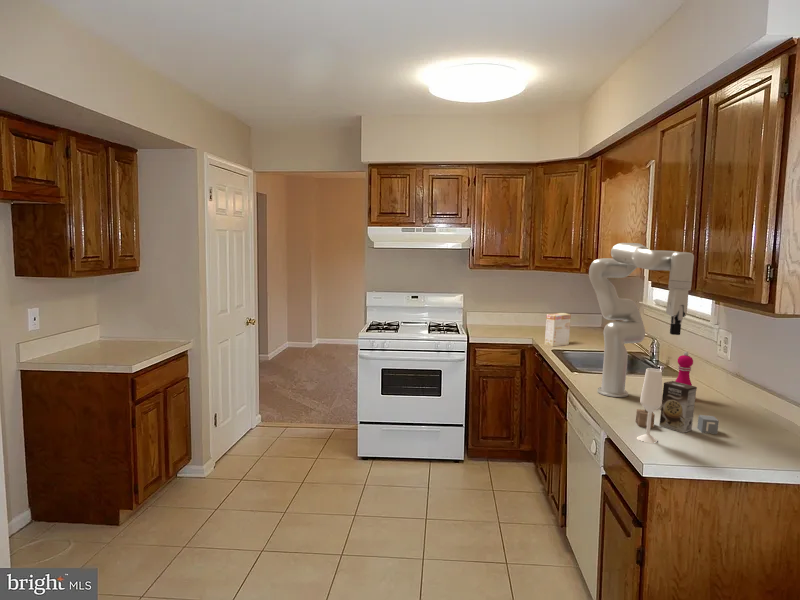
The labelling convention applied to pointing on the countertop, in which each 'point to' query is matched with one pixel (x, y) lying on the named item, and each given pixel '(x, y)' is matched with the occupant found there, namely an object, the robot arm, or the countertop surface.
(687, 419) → the coffee box
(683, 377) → the pepper mill
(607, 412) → the countertop surface
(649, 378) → the champagne flute
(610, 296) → the robot arm
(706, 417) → the slate block seven
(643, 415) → the walnut block one
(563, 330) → the coffeecake box
